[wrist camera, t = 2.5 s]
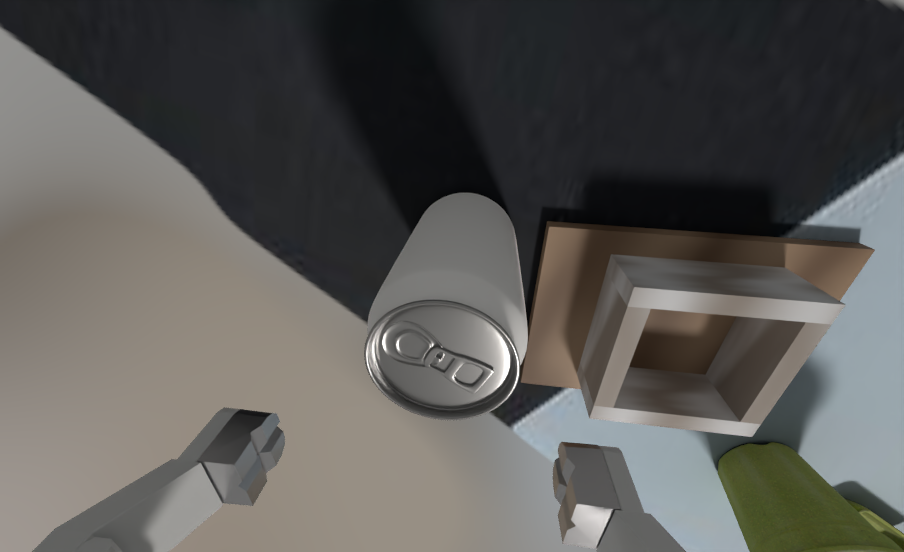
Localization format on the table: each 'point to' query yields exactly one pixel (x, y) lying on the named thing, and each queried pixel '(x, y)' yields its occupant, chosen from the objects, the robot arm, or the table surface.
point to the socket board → (681, 320)
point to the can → (451, 313)
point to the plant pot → (792, 505)
